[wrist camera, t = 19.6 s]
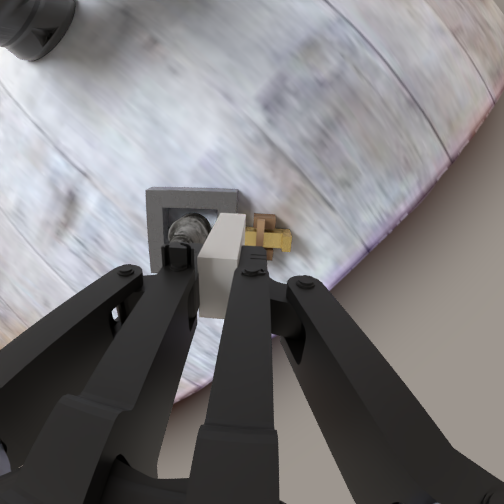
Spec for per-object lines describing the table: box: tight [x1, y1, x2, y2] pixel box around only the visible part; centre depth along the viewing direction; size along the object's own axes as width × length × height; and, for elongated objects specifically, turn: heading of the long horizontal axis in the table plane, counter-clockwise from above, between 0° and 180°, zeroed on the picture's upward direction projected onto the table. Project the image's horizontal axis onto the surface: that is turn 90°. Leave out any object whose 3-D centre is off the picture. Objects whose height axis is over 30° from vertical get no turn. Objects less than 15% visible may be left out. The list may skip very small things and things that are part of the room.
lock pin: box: [245, 227, 292, 252], centre depth 41 cm, size 2×9×3 cm, turn 87°
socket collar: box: [146, 187, 238, 273], centre depth 42 cm, size 13×13×2 cm
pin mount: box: [253, 213, 276, 260], centre depth 41 cm, size 6×3×4 cm, turn 177°
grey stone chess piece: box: [168, 213, 211, 244], centre depth 37 cm, size 6×6×12 cm
